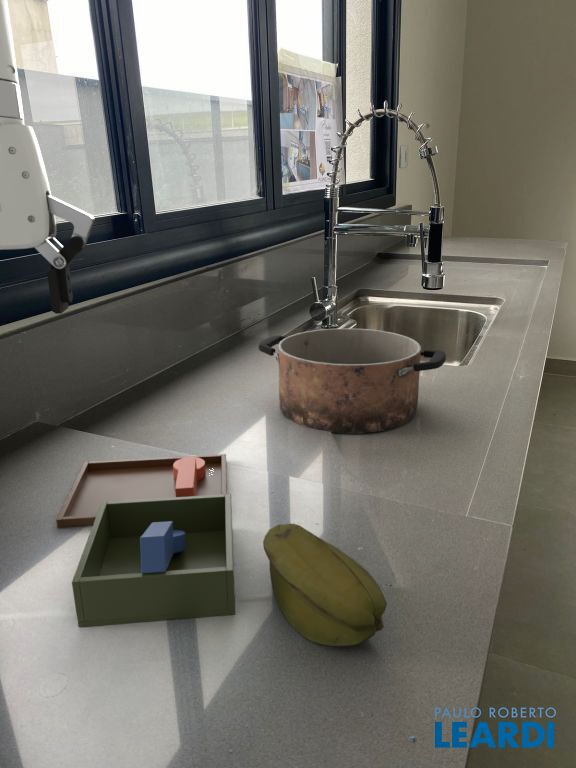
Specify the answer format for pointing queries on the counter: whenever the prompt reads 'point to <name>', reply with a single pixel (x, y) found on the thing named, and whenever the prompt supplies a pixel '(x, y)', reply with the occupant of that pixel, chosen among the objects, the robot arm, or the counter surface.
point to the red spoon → (188, 475)
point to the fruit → (322, 588)
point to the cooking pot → (349, 378)
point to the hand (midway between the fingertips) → (6, 312)
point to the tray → (132, 485)
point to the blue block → (160, 546)
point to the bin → (162, 589)
